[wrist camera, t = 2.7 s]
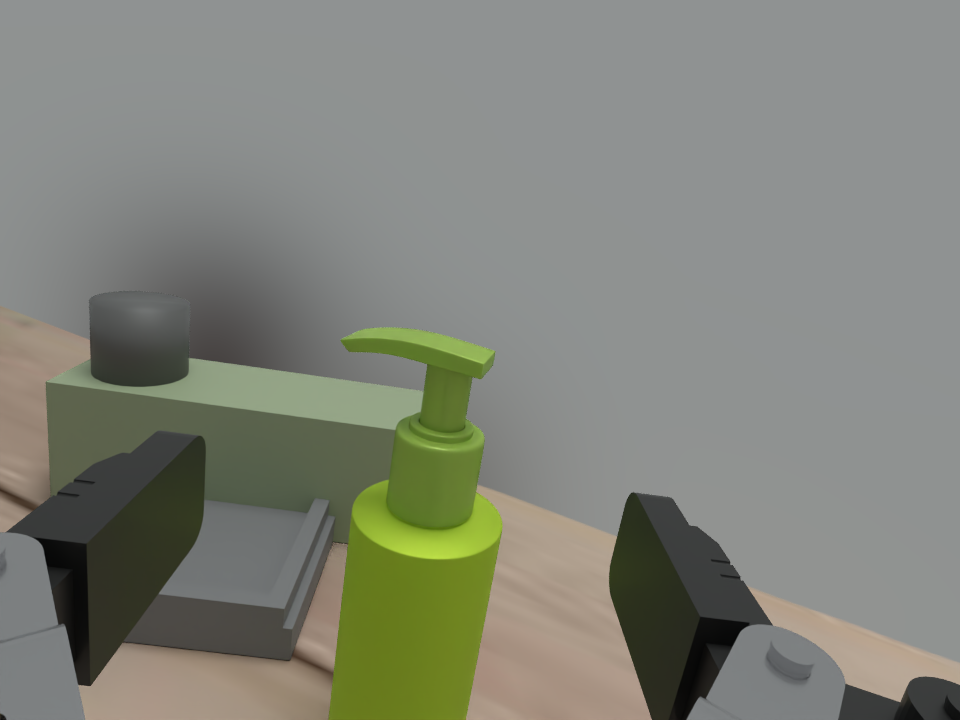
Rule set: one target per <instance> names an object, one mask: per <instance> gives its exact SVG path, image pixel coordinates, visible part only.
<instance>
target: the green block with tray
mask: <svg viewBox="0 0 960 720" xmlns="http://www.w3.org/2000/svg"><path fill="white" fill-rule="evenodd" d="M89 310H90V352H91V359H90V360H88V361H86V362H84V363H82V364H80V365H78V366H76V367H74V368H72V369H70V370H68V371H66V372H64V373H62V374H60V375H58V376H56V377H54V378H52V379H50V380H48V381H46V400H47V422H48V444H49V465H50V487H51V497H52V496H53V495H55V496H56V495H57V492H58V491H59V490H61V489H62V488H63V487H64V486H66V485H67V484H68V483H70V482H72V483H73V481H74V479H75V478H76V477H77V476H79V475H80V474H81V473H82V472H84V471H85V470H86V469H88V468H89V467H90V466H91V465H93V464H94V463H97V462H99V461H102V460H104V459H107V458H109V457H112V456H114V455H117V454H119V453H122V452H123V453H131V452H132V451H133V450H135V449H136V448H137V447H138V446H140V445H141V444H142V443H143V442H144V441H146V440H147V439H148V438H149V437H150V436H152V435H153V434H154V433H155V432H157V431H159V430H161V431H169V432H177V433H184V434H192V435H199V436H202V437H203V438H204V440H205V444H206V463H205V492H204V515H203V521H202V526H201V529H200V533H199V535H198V538H197V540H196V542H195V544H194V546H193V547H192V549H191V550H190V552H189V553H188V554H187V556H186V557H185V558H184V560H183V561H182V562H181V564H180V565H179V566H178V568H177V569H176V571H175V572H174V573H173V575H172V576H171V577H170V579H169V580H168V581H167V583H166V584H165V586H164V587H163V588H162V590H161V591H160V592H159V594H158V595H157V596H156V598H155V599H154V600H153V602H152V603H151V605H150V606H149V607H148V609H147V610H146V611H145V613H144V614H143V615H142V617H141V618H140V620H139V621H138V622H137V624H136V625H135V626H134V628H133V629H132V630H131V632H130V633H129V634H128V636H127V637H126V639H125V640H124V641H123V642H132V643H140V644H149V645H158V646H167V647H176V648H185V649H193V650H202V651H211V652H220V653H229V654H238V655H246V656H255V657H264V658H273V659H282V660H290V659H291V656H292V653H293V650H294V648H295V645H296V642H297V639H298V637H299V634H300V631H301V628H302V626H303V623H304V620H305V617H306V615H307V612H308V609H309V606H310V603H311V601H312V598H313V595H314V592H315V590H316V587H317V584H318V581H319V579H320V576H321V573H322V570H323V568H324V565H325V562H326V559H327V556H328V554H329V551H330V548H331V545H332V543H333V542H340V543H348V541H349V532H350V523H351V514H352V507H353V504H354V501H355V500H356V498H357V497H358V496H359V494H360V493H361V492H363V491H364V490H365V489H367V488H368V487H370V486H372V485H374V484H377V483H379V482H382V481H386V480H389V475H390V467H391V460H392V452H393V444H394V436H395V430H396V426H397V424H398V422H399V421H401V420H402V419H403V418H405V417H408V416H411V415H414V414H416V413H418V412H421V406H422V399H423V392H424V391H418V390H411V389H404V388H397V387H390V386H383V385H375V384H369V383H361V382H354V381H347V380H341V379H333V378H326V377H319V376H312V375H305V374H298V373H291V372H284V371H277V370H270V369H263V368H256V367H248V366H242V365H235V364H227V363H221V362H214V361H207V360H199V359H192V358H189V335H190V303H189V302H188V301H187V300H185V299H183V298H181V297H177V296H173V295H169V294H162V293H155V292H143V291H119V292H109V293H103V294H99V295H95V296H93V297H91V298H90V300H89Z"/></svg>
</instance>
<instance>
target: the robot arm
mask: <svg viewBox="0 0 960 720" xmlns="http://www.w3.org/2000/svg"><path fill="white" fill-rule="evenodd" d="M205 463H206V444H205V440H204V438H203V437H202V436H199V435H192V434H184V433H177V432H169V431H161V430H159V431H157V432H155V433H154V434H153V435H152V436H150V437H149V438H148V439H147V440H146V441H144V442H143V443H142V444H141V445H140V446H138V447H137V448H136V449H135V450H133V451H132V452H131V453H123V452H122V453H119V454H117V455H114V456H112V457H109V458H107V459H104V460H102V461H99V462H97V463H94V464H93V465H91V466H90V467H89V468H88V469H86V470H85V471H84V472H82V473H81V474H80V475H79V476H77V477H76V478H75V479H74V481H73V483H72V482H70V483H68V484H67V485H66V486H64V487H63V488H62V489H61V490H59V491H58V492H57V495H56V496H55V495H53V496H52V497H50V498H49V499H48V500H47V501H45V502H44V503H43V504H41V505H40V506H39V507H38V508H36V509H35V510H34V511H32V512H31V513H30V514H29V515H27V516H26V517H25V518H23V519H22V520H21V521H20V522H18V523H17V524H16V525H14V526H13V527H12V528H11V529H9V530H8V531H7V532H5V533H1V532H0V720H85V716H84V711H83V706H82V701H81V697H80V692H79V687H78V685H84V686H91V685H92V683H93V682H94V681H95V679H96V678H97V677H98V675H99V674H100V673H101V671H102V670H103V668H104V667H105V666H106V664H107V663H108V662H109V660H110V659H111V658H112V656H113V655H114V654H115V652H116V651H117V649H118V648H119V647H120V645H121V644H122V643H123V641H124V640H125V639H126V637H127V636H128V634H129V633H130V632H131V630H132V629H133V628H134V626H135V625H136V624H137V622H138V621H139V620H140V618H141V617H142V615H143V614H144V613H145V611H146V610H147V609H148V607H149V606H150V605H151V603H152V602H153V600H154V599H155V598H156V596H157V595H158V594H159V592H160V591H161V590H162V588H163V587H164V586H165V584H166V583H167V581H168V580H169V579H170V577H171V576H172V575H173V573H174V572H175V571H176V569H177V568H178V566H179V565H180V564H181V562H182V561H183V560H184V558H185V557H186V556H187V554H188V553H189V552H190V550H191V549H192V547H193V546H194V544H195V542H196V540H197V538H198V535H199V533H200V529H201V526H202V521H203V515H204V492H205ZM609 587H610V594H611V598H612V601H613V604H614V607H615V610H616V613H617V616H618V619H619V622H620V625H621V628H622V631H623V634H624V637H625V640H626V643H627V646H628V649H629V652H630V655H631V658H632V661H633V664H634V667H635V670H636V673H637V676H638V679H639V682H640V685H641V688H642V691H643V694H644V697H645V700H646V703H647V706H648V709H649V712H650V715H651V718H652V720H960V685H958V684H956V683H953V682H950V681H947V680H944V679H939V678H934V677H918V678H914V679H913V680H911V681H910V682H909V684H908V686H907V688H906V691H905V693H904V695H903V698H902V700H901V702H897V701H894V700H891V699H888V698H885V697H882V696H880V695H877V694H874V693H871V692H868V691H865V690H862V689H859V688H856V687H853V686H850V685H848V684H845V679H844V675H843V673H842V671H841V669H840V668H839V667H838V665H837V664H836V662H835V661H834V660H833V659H832V658H831V657H830V656H829V655H828V654H827V653H826V652H825V651H824V650H822V649H821V648H820V647H818V646H817V645H816V644H814V643H812V642H811V641H809V640H808V639H806V638H804V637H802V636H800V635H798V634H796V633H794V632H792V631H789V630H786V629H783V628H780V627H776V626H773V625H772V623H771V622H770V620H769V619H768V617H767V616H766V614H765V613H764V611H763V610H762V608H761V607H760V605H759V604H758V602H757V601H756V599H755V598H754V596H753V595H752V593H751V592H750V590H749V589H748V587H747V586H746V584H745V583H744V581H741V580H740V576H739V574H738V572H737V571H736V570H735V568H734V566H733V565H730V561H729V559H728V558H727V556H726V555H725V553H724V552H723V550H722V549H721V547H720V546H719V544H718V543H717V542H715V541H714V540H713V539H712V538H711V537H709V536H708V535H707V534H706V533H704V532H703V531H702V530H700V529H699V528H698V527H696V526H689V524H688V522H687V521H686V519H685V518H684V516H683V514H682V513H681V511H680V510H679V508H678V507H677V505H676V503H675V502H674V500H673V499H672V498H670V497H663V496H656V495H648V494H641V493H631V494H630V495H629V497H628V499H627V501H626V504H625V508H624V512H623V516H622V520H621V524H620V528H619V532H618V536H617V540H616V544H615V548H614V552H613V556H612V560H611V565H610V573H609Z"/></svg>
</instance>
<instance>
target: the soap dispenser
mask: <svg viewBox="0 0 960 720" xmlns="http://www.w3.org/2000/svg"><path fill="white" fill-rule="evenodd" d="M341 342H342V343H343V345H344V346H345V348H346V349H347V350H348V351H349V352H372V353H382V354H389V355H394V356H399V357H404V358H407V359H411V360H415V361H419V362H422V363H425V364H427V371H426V378H425V385H424V392H423V399H422V406H421V412H418V413H416V414H414V415H411V416H408V417H405V418H403V419H402V420H401V421H399V422H398V424H397V426H396V430H395V436H394V444H393V452H392V460H391V467H390V475H389V480H386V481H382V482H379V483H377V484H374V485H372V486H370V487H368V488H367V489H365V490H364V491H363V492H361V493H360V494H359V496H358V497H357V498H356V500H355V501H354V504H353V507H352V514H351V523H350V532H349V541H348V550H347V559H346V568H345V577H344V585H343V594H342V603H341V612H340V621H339V630H338V639H337V648H336V657H335V666H334V675H333V684H332V693H331V702H330V711H329V720H466V716H467V710H468V705H469V700H470V695H471V689H472V684H473V679H474V674H475V669H476V663H477V658H478V653H479V648H480V643H481V637H482V632H483V627H484V622H485V616H486V611H487V606H488V601H489V596H490V590H491V585H492V580H493V575H494V570H495V564H496V559H497V554H498V549H499V544H500V538H501V533H502V520H501V517H500V514H499V513H498V511H497V509H496V508H495V507H494V506H493V505H492V503H490V502H489V501H488V500H487V499H486V498H484V497H483V496H482V495H480V494H478V493H477V492H476V489H477V483H478V477H479V472H480V466H481V460H482V454H483V449H484V442H485V439H484V434H483V433H482V431H481V430H480V429H479V428H478V427H477V426H475V425H474V424H472V423H471V422H470V421H469V420H467V419H466V414H467V408H468V402H469V396H470V390H471V389H470V388H471V383H472V377H474V378H478V379H482V378H483V377H484V375H485V374H486V373H487V372H488V371H489V370H490V368H491V367H492V366H493V362H494V357H495V351H493V350H490V349H487V348H484V347H481V346H478V345H475V344H472V343H468V342H465V341H462V340H458V339H455V338H452V337H448V336H445V335H441V334H436V333H432V332H428V331H422V330H416V329H408V328H369V329H362V330H360V331H358V332H356V333H354V334H351V335H349V336H347V337H345V338H343V339H341Z"/></svg>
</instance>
